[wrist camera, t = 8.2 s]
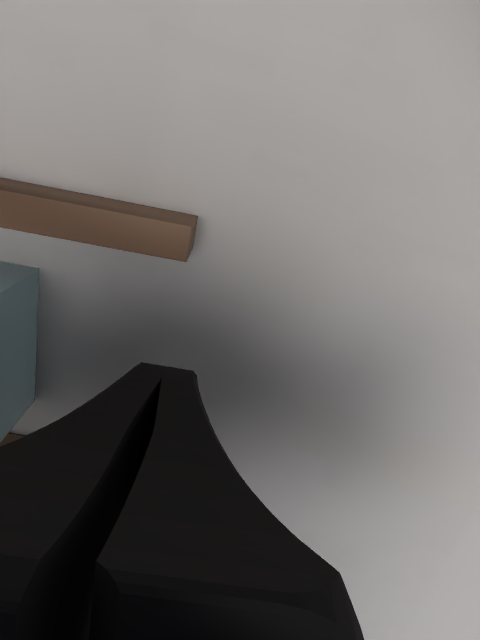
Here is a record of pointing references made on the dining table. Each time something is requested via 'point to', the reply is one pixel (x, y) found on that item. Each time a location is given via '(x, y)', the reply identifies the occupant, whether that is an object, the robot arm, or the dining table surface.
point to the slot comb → (94, 223)
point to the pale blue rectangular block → (17, 341)
